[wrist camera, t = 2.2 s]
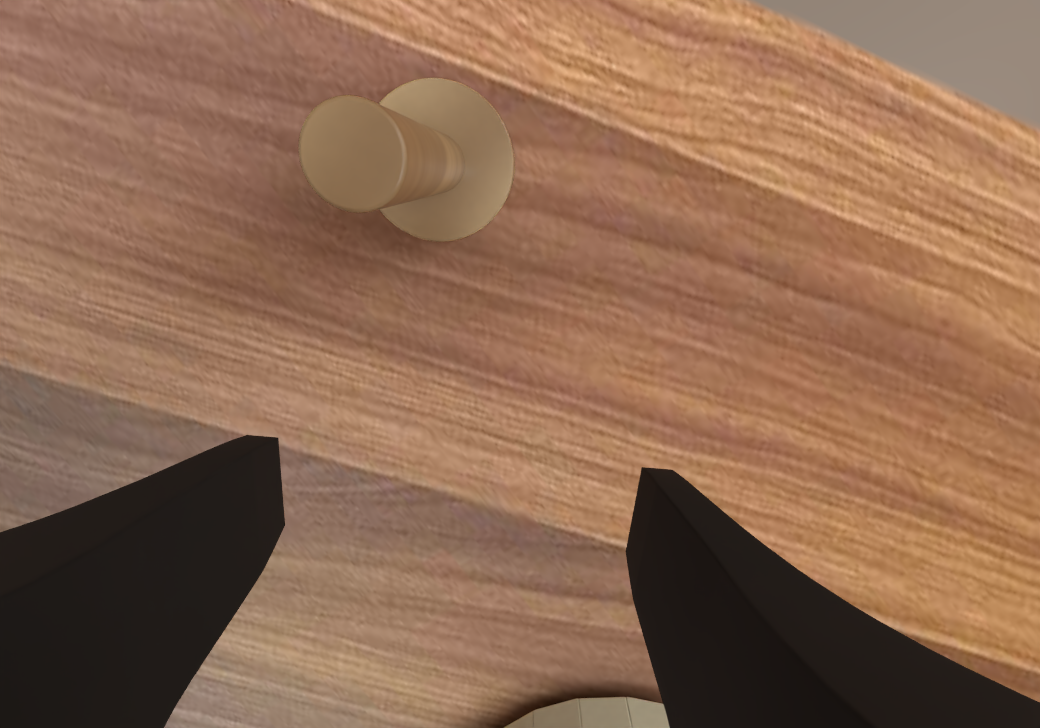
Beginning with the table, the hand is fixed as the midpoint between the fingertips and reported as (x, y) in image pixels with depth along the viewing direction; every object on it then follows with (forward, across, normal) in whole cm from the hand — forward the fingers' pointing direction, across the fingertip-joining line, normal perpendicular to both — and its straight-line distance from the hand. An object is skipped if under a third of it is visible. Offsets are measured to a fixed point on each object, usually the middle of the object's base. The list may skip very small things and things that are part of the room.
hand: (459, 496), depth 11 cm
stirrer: (+10, +2, -6) cm, 12 cm away
